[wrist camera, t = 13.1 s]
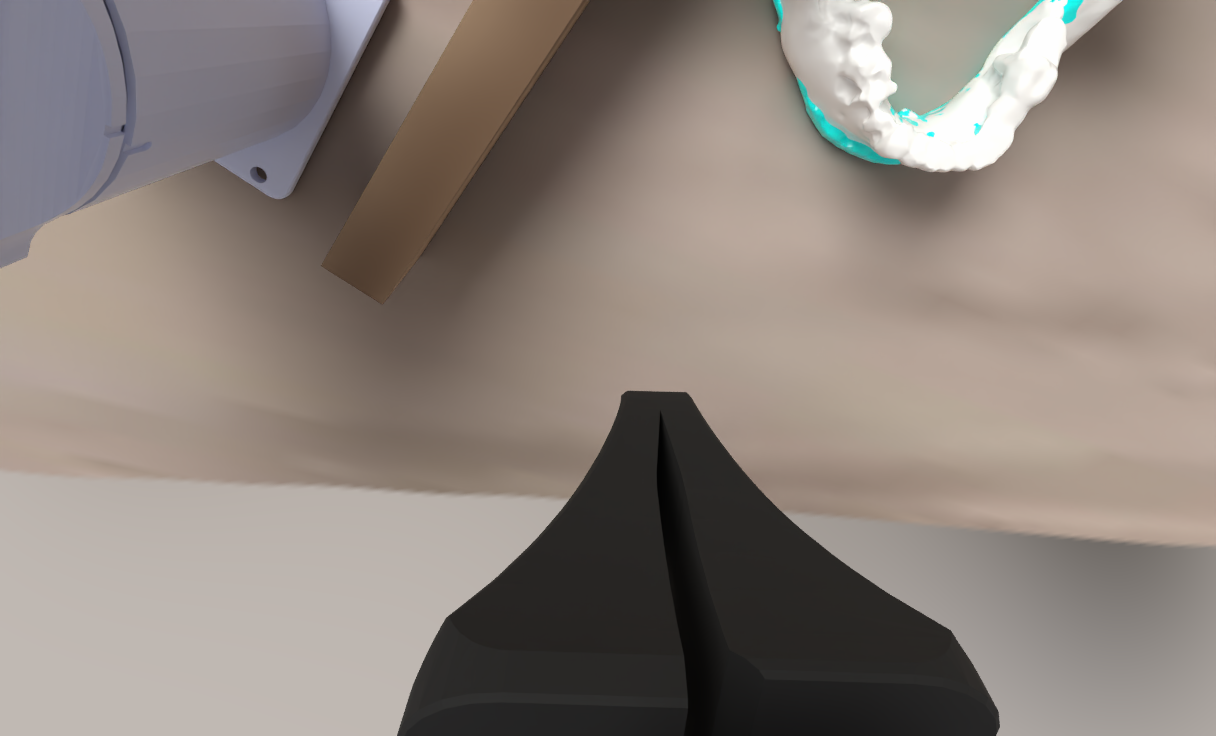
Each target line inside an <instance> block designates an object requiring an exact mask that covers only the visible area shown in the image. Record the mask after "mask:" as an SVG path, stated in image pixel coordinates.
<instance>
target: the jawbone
mask: <svg viewBox="0 0 1216 736" xmlns="http://www.w3.org/2000/svg"><path fill="white" fill-rule="evenodd" d="M1122 1H1123V0H1039V1H1038V2H1037V3H1036V4H1035V5H1034V6H1033V7H1032V8H1031V9H1030V10H1029V11H1028V12H1027V13H1026V14H1025V15H1024V16H1023V17H1022V18H1021V19H1020V20H1019V21H1018V22H1017V23H1016V24H1015V25H1014V26H1013V27H1012V28H1011V29H1010V30H1009V31H1008V32H1007V33H1006V34H1005V35H1004V36H1003V37H1002V38H1001V39H1000V40H999V41H998V43H997V44H996V45H995V46H994V48H993V50H992V51H991V53H990V54H989V56H988V57H987V59H986V61H985V63H984V66H983V68H982V69H981V71H980V72H979V73H978V74H977V75H976V76H975V77H974V78H973V79H972V80H971V81H970V82H969V83H968V84H967V85H966V86H965V87H963V88H962V89H961V90H960V91H959V93H958V94H957V95H956V96H955V97H953V98H952V99H951V100H950V101H948V102H946V103H945V104H943V105H941V106H940V107H938V108H936V109H934V110H932V111H930V112H928V113H925V114H923V115H918V114H916V113H915V112H913V111H911V110H909V109H907V108H903V109H902V110H901V111H900V112H898V113H896V112H895V110H894V109H893V108H892V106H891V104H890V103H889V101H888V99H887V98H888V97H889V96H890V95H891V94H893V93H895V92H896V90H897V85H896V83H895V82H892V81H891V79H890V78H891V69H892V62H891V60H890V59H889V58H888V56H887V55H886V54H885V52H884V50H883V48H882V41H883V39H884V38H886V37H887V36H888V34H889V33H890V31H891V28H892V13H891V11H890V9H889V7H888V6H887V5H885V4H883V3H881V2H872V1H869V0H858V1H855V0H773V2H774V6H775V8H776V12H777V15H778V18H779V22H778V25H777V30H778V31H780V32H781V44H782V49H783V52H784V54H785V56H786V59H787V61H788V63H789V65H790V67H791V69H792V70H793V72H794V74H795V76H796V78H797V81H798V85H799V88H800V91H801V94H802V96H803V99H804V102H805V105H806V112H807V114H808V115H809V117H810V118H811V120H812V121H813V123H814V125H815V127H816V128H817V129H818V131H819V132H820V134H821V135H822V136H823V137H824V138H825V139H827V140H828V141H830V142H831V143H833V144H834V145H835V146H836V147H838V148H840V149H842V150H844V151H846V152H847V153H849V154H851V155H854V156H856V157H858V158H862V159H864V160H867V161H870V162H872V163H881V164H885V165H899V164H903V165H905V166H908V167H912V168H918V169H920V170H923V171H927V172H935V171H936V172H942V173H944V172H949V171H958V172H960V171H965V170H967V169H969V170H972V171H977V170H980V169H982V168H984V167H986V166H989V165H991V164H993V163H995V162H996V160H997V159H998V158H999V157H1000V156H1001V155H1003V154H1004V152H1005V151H1006V150H1007V149H1008V148H1009V147H1010V145H1011V144H1012V142H1013V138H1014V131H1015V130H1016V128H1017V127H1018V126H1019V125H1020V124H1021V123H1022V121H1023V120H1024V119H1025V117H1026V115H1027V113H1028V111H1029V110H1030V109H1031V108H1032V107H1034V106H1036V105H1038V104H1039V103H1041V102H1042V101H1043V100H1045V99H1046V97H1047V96H1048V94H1049V93H1050V91H1051V90H1052V88H1053V87H1054V85H1055V83H1056V81H1057V77H1058V70H1057V69H1058V65H1059V61H1060V58H1061V54H1062V53H1063V52H1064V51H1066V50H1067V49H1068V48H1069V47H1070V46H1072V45H1073V44H1074V43H1075V42H1076V41H1077V40H1078V39H1079V38H1081V37H1082V36H1083V35H1084V34H1085V33H1086V32H1087V31H1089V30H1090V29H1091V28H1092V27H1093V26H1094V25H1096V24H1097V23H1098V22H1099V21H1100V20H1101V19H1102V18H1103V17H1104V16H1106V15H1107V14H1108V13H1109V12H1110V11H1111V10H1112V9H1113V8H1114V7H1116V6H1117V5H1118V4H1119V3H1120V2H1122Z"/></svg>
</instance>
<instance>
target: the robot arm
mask: <svg viewBox="0 0 1216 736" xmlns="http://www.w3.org/2000/svg"><path fill="white" fill-rule="evenodd" d="M389 1H390V0H0V268H2V267H4V266H7V265H9V264H11V263H14V262H16V261H19V260H21V259H23V258H26V257H27V256H28V252H29V247H30V242H31V240H32V238H33V237H34V235H35V233H36V232H37V231H38V230H39V229H40V228H41V227H42V226H43V225H45V224H47V223H49V222H51V221H53V220H55V219H57V218H59V217H61V216H63V215H67V214H70V213H73V212H76V211H79V210H81V209H84V208H87V207H89V206H92V205H95V204H97V203H100V202H103V201H105V200H108V199H111V198H113V197H116V196H119V195H122V194H124V193H127V192H130V191H132V190H135V189H138V188H140V187H143V186H146V185H148V184H151V183H154V182H156V181H159V180H162V179H165V178H167V177H170V176H173V175H175V174H178V173H181V172H183V171H186V170H189V169H191V168H194V167H197V166H200V165H202V164H205V163H208V162H210V161H213V160H214V161H215V162H217V163H218V164H220V165H221V166H223V167H224V168H226V169H227V170H229V171H231V172H232V173H234V174H235V175H237V176H238V177H240V178H241V179H243V180H244V181H246V182H247V183H249V184H251V185H252V186H254V187H255V188H257V189H258V190H260V191H261V192H263V193H264V194H266V195H267V196H269V197H271V198H274V199H283V198H285V197H287V196H289V195H290V194H291V193H292V192H293V190H294V188H295V186H296V184H297V182H298V180H299V178H300V176H301V174H302V172H303V170H304V168H305V166H306V164H307V162H308V161H309V159H310V157H311V155H312V153H313V151H314V149H315V147H316V145H317V143H318V141H319V139H320V137H321V135H322V133H323V131H324V129H325V127H326V125H327V123H328V121H329V119H330V117H331V115H332V113H333V111H334V109H335V107H336V105H337V103H338V101H339V100H340V98H341V96H342V94H343V92H344V90H345V88H346V86H347V84H348V82H349V80H350V78H351V76H352V74H353V72H354V70H355V68H356V66H357V64H358V62H359V60H360V58H361V56H362V54H363V52H364V50H365V48H366V46H367V44H368V42H369V40H370V38H371V37H372V35H373V33H374V31H375V29H376V27H377V25H378V23H379V21H380V19H381V17H382V15H383V13H384V11H385V9H386V7H387V5H388V3H389ZM257 167H260V168H262V169H263V170H264V171H265V172H266V175H267V180H264V179H262V178H261V177H260V176H259V175H258V173H257V171H256V170H257ZM999 728H1000V724H999V712H998V710H997V708H996V706H995V705H994V702H993V701H992V699H991V697H990V695H989V693H988V691H987V690H986V688H985V686H984V684H983V682H982V680H981V678H980V676H979V675H978V673H977V671H976V669H975V668H974V666H973V664H972V663H971V661H970V659H969V658H968V656H967V655H966V653H965V652H964V650H963V649H962V647H961V646H960V644H959V643H958V641H957V640H956V638H955V636H954V635H953V633H952V632H951V630H949V629H947V628H946V627H944V626H942V625H941V624H938V623H937V622H935V621H934V620H932V619H930V618H929V617H927V616H925V615H924V614H922V613H920V612H919V611H917V610H915V609H914V608H912V607H910V606H908V605H907V604H905V603H903V602H902V601H900V600H898V599H896V598H895V597H893V596H892V595H890V594H888V593H887V592H885V591H884V590H882V589H880V588H879V587H878V586H876V585H875V584H873V583H872V582H870V581H869V580H867V579H866V578H864V577H863V576H861V575H860V574H859V573H857V572H856V571H854V570H853V569H851V568H850V567H849V566H847V565H846V564H845V563H843V562H842V561H840V560H839V559H838V558H836V557H835V556H834V555H832V554H831V553H830V552H829V551H827V550H826V549H825V548H824V547H822V546H821V545H820V544H819V543H817V542H816V541H815V540H813V539H812V538H811V537H810V536H809V535H807V534H806V533H805V532H804V531H802V530H801V529H800V528H799V527H798V526H797V525H795V524H794V523H793V522H792V521H791V520H790V519H789V518H788V517H787V516H785V515H784V514H783V513H782V512H781V511H780V510H779V509H778V508H777V507H776V506H775V505H774V504H773V503H772V502H771V501H770V500H769V499H768V498H767V497H766V496H765V495H764V494H763V493H762V492H761V490H760V489H759V488H758V487H757V486H756V485H755V484H754V483H753V482H752V480H751V479H750V478H749V477H748V476H747V475H746V474H745V472H744V471H743V470H742V469H741V468H740V467H739V465H738V464H737V463H736V462H735V460H734V459H733V458H732V457H731V455H730V454H729V453H728V451H727V450H726V449H725V447H724V446H723V445H722V443H721V442H720V441H719V439H718V438H717V437H716V435H715V434H714V432H713V431H712V430H711V428H710V427H709V425H708V424H707V422H706V421H705V419H704V418H703V416H702V415H701V413H700V411H699V410H698V408H697V406H696V405H695V403H694V401H693V400H692V398H691V397H690V396H689V394H688V393H687V392H651V391H626V392H625V393H624V394H623V395H621V403H620V407H619V410H618V413H617V416H616V419H615V421H614V424H613V426H612V429H611V431H610V433H609V435H608V437H607V439H606V441H605V443H604V445H603V447H602V449H601V451H600V453H599V455H598V456H597V458H596V460H595V461H594V463H593V465H592V466H591V468H590V470H589V471H588V473H587V475H586V476H585V478H584V479H583V481H582V482H581V484H580V485H579V487H578V488H577V490H576V491H575V492H574V494H573V495H572V497H571V498H570V499H569V501H568V502H567V503H566V505H565V506H564V507H563V509H562V510H561V511H560V512H559V513H558V515H557V516H556V517H555V518H554V519H553V520H552V522H551V523H550V524H549V525H548V526H547V527H546V529H545V530H544V531H543V532H542V533H541V534H540V535H539V537H538V538H537V539H536V540H535V541H534V542H533V543H532V544H531V545H530V546H529V547H528V548H527V549H526V550H525V551H524V552H523V553H522V554H521V555H520V556H519V557H518V558H517V559H516V560H514V561H513V562H512V563H511V564H510V565H509V566H508V567H507V568H506V569H505V570H504V571H503V572H502V573H501V574H500V575H499V576H498V577H496V578H495V579H494V580H493V581H492V582H491V583H490V584H488V585H487V586H486V587H484V588H483V589H482V590H481V591H479V592H478V593H477V594H476V595H474V596H473V597H472V598H471V599H469V600H468V601H467V602H466V603H464V604H463V605H462V606H461V607H459V608H458V609H457V610H456V611H454V612H453V613H452V614H451V615H449V616H448V617H447V618H446V619H445V621H444V623H443V624H442V626H441V628H440V630H439V632H438V633H437V635H436V637H435V639H434V641H433V643H432V645H431V647H430V649H429V651H428V653H427V655H426V657H425V659H424V661H423V663H422V666H421V668H420V670H419V672H418V675H417V677H416V679H415V682H414V684H413V687H412V690H411V693H410V696H409V699H408V702H407V705H406V709H405V712H404V715H403V718H402V721H401V725H400V728H399V731H398V734H397V736H996V734H997V732H998V730H999Z"/></svg>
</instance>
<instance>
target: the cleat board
mask: <svg viewBox="0 0 1216 736" xmlns="http://www.w3.org/2000/svg"><path fill="white" fill-rule="evenodd" d="M589 2H590V0H473V1H472V3H471V5H470V7H469V8H468V10H467V12H466V14H465V15H464V17H463V19H462V21H461V22H460V24H459V26H458V28H457V29H456V31H455V33H454V35H453V36H452V38H451V40H450V41H449V43H448V45H447V47H446V48H445V50H444V52H443V54H442V55H441V57H440V59H439V61H438V62H437V64H436V66H435V68H434V69H433V71H432V73H431V75H430V76H429V78H428V80H427V82H426V83H425V85H424V87H423V89H422V90H421V92H420V94H419V96H418V97H417V99H416V101H415V103H414V104H413V106H412V108H411V110H410V111H409V113H408V115H407V117H406V118H405V120H404V122H403V124H402V125H401V127H400V129H399V131H398V132H397V134H396V136H395V137H394V139H393V141H392V143H391V144H390V146H389V148H388V150H387V151H386V153H385V155H384V157H383V158H382V160H381V162H380V164H379V165H378V167H377V169H376V171H375V172H374V174H373V176H372V178H371V179H370V181H369V183H368V185H367V186H366V188H365V190H364V192H363V193H362V195H361V197H360V199H359V200H358V202H357V204H356V206H355V207H354V209H353V211H352V213H351V214H350V216H349V218H348V220H347V221H346V223H345V225H344V227H343V228H342V230H341V232H340V233H339V235H338V237H337V239H336V240H335V242H334V244H333V246H332V247H331V249H330V251H329V253H328V254H327V256H326V258H325V260H324V261H323V263H322V265H321V266H322V267H323V268H325V269H327V270H328V271H330V272H331V273H333V274H335V275H336V276H338V277H339V278H341V279H343V280H344V281H346V282H347V283H349V284H351V285H352V286H354V287H355V288H357V289H358V290H360V291H362V292H363V293H365V294H366V295H368V296H370V297H371V298H373V299H374V300H376V301H378V302H379V303H381V304H382V305H383V304H384V302H385V301H386V300H387V298H388V297H389V296H390V295H391V293H392V292H393V291H394V289H395V288H396V287H397V286H398V284H399V283H400V282H401V280H402V279H403V278H404V277H405V275H406V274H407V273H408V272H409V270H410V269H411V268H412V266H413V265H414V264H415V263H416V261H417V260H418V259H419V257H420V256H421V254H422V253H423V251H424V250H425V248H426V247H427V245H428V244H429V242H430V241H431V239H432V238H433V236H434V235H435V233H436V232H437V230H438V229H439V227H440V226H441V224H442V223H443V221H444V220H445V218H446V217H447V215H448V214H449V212H450V211H451V209H452V208H453V206H454V205H455V203H456V202H457V200H458V199H459V197H460V196H461V194H462V193H463V191H464V190H465V188H466V187H467V185H468V184H469V182H470V181H471V179H472V178H473V176H474V175H475V173H476V172H477V170H478V169H479V167H480V166H481V164H482V163H483V161H484V160H485V158H486V157H487V155H488V154H489V152H490V151H491V149H492V148H493V146H494V145H495V143H496V142H497V140H498V139H499V137H500V136H501V134H502V133H503V131H504V130H505V128H506V127H507V125H508V124H509V122H510V121H511V119H512V117H513V116H514V114H515V113H516V111H517V110H518V108H519V107H520V105H521V104H522V102H523V101H524V99H525V98H526V96H527V95H528V93H529V92H530V90H531V89H532V87H533V86H534V84H535V83H536V81H537V80H538V78H539V77H540V75H541V74H542V72H543V71H544V69H545V68H546V66H547V65H548V63H549V62H550V60H551V59H552V57H553V56H554V54H555V53H556V51H557V50H558V48H559V47H560V45H561V44H562V42H563V41H564V39H565V38H566V36H567V35H568V33H569V32H570V30H571V29H572V27H573V26H574V24H575V23H576V21H577V20H578V18H579V17H580V15H581V14H582V12H583V11H584V9H585V8H586V6H587V5H588V3H589Z"/></svg>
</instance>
